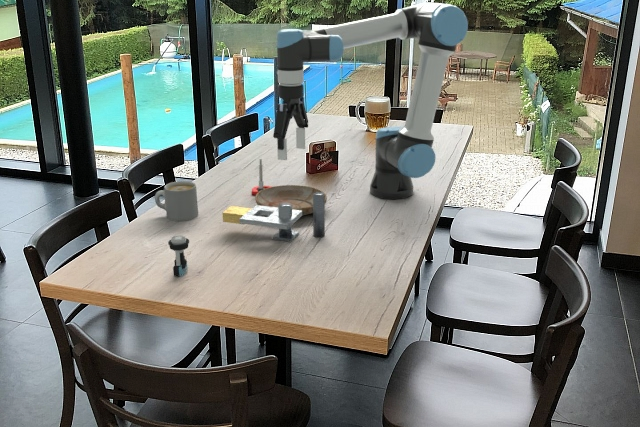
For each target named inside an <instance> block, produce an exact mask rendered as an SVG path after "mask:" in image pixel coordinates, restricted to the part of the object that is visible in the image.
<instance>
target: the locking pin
mask: <svg viewBox="0 0 640 427" xmlns="http://www.w3.org/2000/svg"><path fill="white" fill-rule="evenodd" d="M324 193H325V192H324ZM324 193H322V192H316V193H313V213H312V222H313V223H312V226H313V227H312V230H313V233H312V236H313V237H314V238H324V237H325V234H326V233H325V232H326V230H325V228H326V227H325V226H326V225H325V224H326V222H325V221H326V219H325V216H326V215H325V212H326V211H325V210H326V209H325V208H326V206H325V205H326V203H325V194H326V193H325V194H324Z"/></svg>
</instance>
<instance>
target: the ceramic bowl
mask: <svg viewBox="0 0 640 427" xmlns="http://www.w3.org/2000/svg"><path fill="white" fill-rule="evenodd" d="M316 192H322V193H324V194H325V204H327V200H328V196H327V194H326V193H325V191H322V190H321V189H318V188H315V187H312V186H307V185H298V184H286V185H276V186H275V185H274V186H272V187H269V188H266V189H263V190H261V191H259V192H258V193H257V194H256V195H254V196H255V198H254V199H255V203H256V205H259V206H268V207H276V208H278V204H280V203H291V204H292V209H294V210H302V216H307V215H311V214H313V193H316Z"/></svg>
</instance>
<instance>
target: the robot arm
mask: <svg viewBox="0 0 640 427" xmlns="http://www.w3.org/2000/svg"><path fill="white" fill-rule="evenodd" d="M468 23H469V21H468V18H467V16H466V14H465V13H464V11H463V10H462V9H461V8H459V7H458V6H456V5H454V4H450V3H441V2H440V3H439V2H434V1H433V2H431V1H428V2H421V3H418V4H414V5H410V6H407V7H403V8H398V9H396V10H395V12H394V13H390V14H385V15H381V16H376V17H375V16H374V17H370V18H365V19H361V20H356V21H351V22H346V23H341V24H335V25H331V26H326V27H323V28H317V29H312V30H310V29H303V30H302V29H299V28H285V29H284V28H283V29H280V30H278V32H277V34H276V56H277V58H276V59H277V71H276V75H277V82H278V85H277V96H278V98H280V99H282V103H278V104H277V106H276V107H277V109H276V110H277V112H276V117H275V123H274V128H273V129H274V130H273V134H272V136H273V138H274V139H276V140H277V144H276V145H277V149H276V150H277V160H280V161H287V160H288V144H287V143H288V139H287V138H286V136H287V132H288V129H289V125H290V122H291V120H292V119H294V122H295V123H296V124H295V125H296V127H295V136H296V137H295V140H296V141H295V144H296V145H295V146H296V149H299V150H305V149H306V128H307V129H308V128H309V119H308V115H307V110H306V106H305V98H304V93H305V92H304V89H305V87H304V84H303V83H304V81H305V80H304V79H305V78H304V76H305V75H304V63H305V64H306V63H317V62H318V63H319V62H321V63H322V62H327V63H329V62H330V63H331V62H336V61H340V60H341V59H342V58H343V55H344V52H345V49H350V48H353V47H360V46H363V45H369V44H375V43H378V42H382V41H383V42H384V41H388V40H392V39H400V40H403V41H404V40H409V39H418V44H417V45H418V47H419V50H420V52H421V53H420V56H419V61H418V66H417V71H416V73H415V78H414V83H413V88H412V92H411V97H410V101H409V106H408V109H407V114H406V119H405V122H404V126H387V127H381V128H379V129H377V130H376V133H375V134H376V135H375V138H374V139H375V163H374V164H375V169H374V174H373V176H372V179H371V182H370V185H369V193H370V194H371V195H372V196H374V197H377V198H380V199H388V200H398V199H405V198H409V197H411V196H412V195H414V184H413V180H412V179H419V178H422V177H424V176H426V175H427V174H428V173H430V172H431V171H432V169H433V168H434V165H435V163H436V159H437V158H436V153H435V151H434V148H433V144H434V142H435V136H434V135H433V134H432V127H433V125H434V124H433V123H434V120H435V115H436V112H437V108H438V103H439V99H440V95H441V91H442V87H443V82H444V80H445V79H444V78H445V74H446V70H447V66H448V62H449V58H450V57H451V56H452V55H453V54H455V53H456V50H457V45H459V44H460V43H461V42H462V41H463V40H465V37H466V36H467V33H468V30H469V29H468V28H469V26H468V25H469V24H468Z"/></svg>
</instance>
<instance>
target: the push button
mask: <svg viewBox="0 0 640 427" xmlns="http://www.w3.org/2000/svg"><path fill="white" fill-rule="evenodd" d="M167 242H168V246H169V249H170V250H172V251H173V252H174V253H175V259H174V265H173V267H172V269H173V276H174V277H183V276H184V274H187V273H188V261H187V259H186V256H185V250H187V249H188V248H189V244H190V239H188V238H187V237H186V236H185V235H180V234H179V235H174V236H172V237H171V239H169V240H168V241H167Z"/></svg>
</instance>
